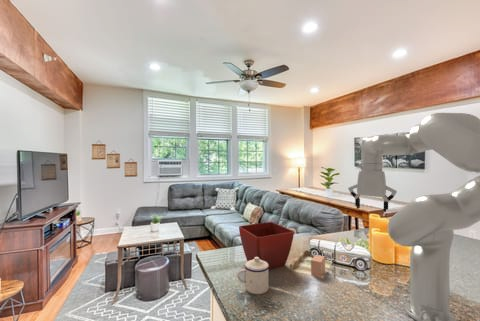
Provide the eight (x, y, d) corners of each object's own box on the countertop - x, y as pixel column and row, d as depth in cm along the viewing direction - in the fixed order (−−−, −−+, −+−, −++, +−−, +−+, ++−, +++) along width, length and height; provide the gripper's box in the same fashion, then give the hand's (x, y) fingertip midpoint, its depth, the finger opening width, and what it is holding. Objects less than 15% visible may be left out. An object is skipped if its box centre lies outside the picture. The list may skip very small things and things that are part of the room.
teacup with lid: (266, 281, 96) (266, 252, 96) (271, 294, 87) (271, 262, 87) (236, 283, 95) (236, 253, 95) (238, 296, 86) (237, 263, 86)
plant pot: (295, 269, 107) (295, 231, 107) (258, 278, 99) (257, 237, 99) (271, 254, 124) (271, 221, 124) (238, 261, 116) (237, 226, 116)
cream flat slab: (323, 280, 97) (323, 272, 97) (289, 271, 104) (289, 264, 104) (333, 261, 115) (333, 255, 115) (304, 255, 122) (304, 249, 122)
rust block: (321, 277, 98) (320, 262, 98) (311, 274, 100) (311, 260, 100) (325, 270, 104) (324, 256, 104) (315, 268, 106) (315, 254, 106)
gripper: (346, 167, 100) (346, 208, 100) (396, 168, 90) (395, 214, 90) (350, 166, 106) (350, 205, 107) (397, 167, 96) (397, 210, 96)
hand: (371, 209), depth 98 cm, fingers open, 9 cm apart
